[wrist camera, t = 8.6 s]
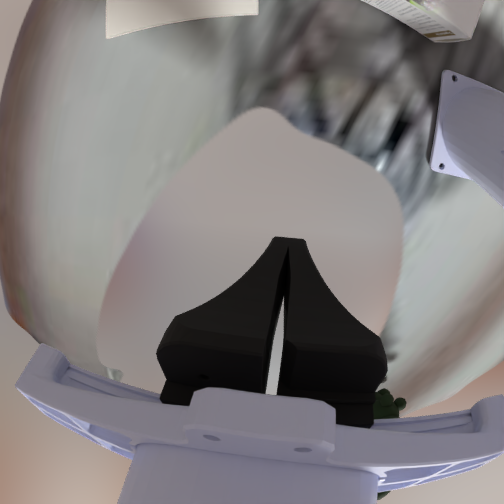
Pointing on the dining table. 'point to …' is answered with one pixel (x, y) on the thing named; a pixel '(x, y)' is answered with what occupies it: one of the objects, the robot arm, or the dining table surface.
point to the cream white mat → (169, 12)
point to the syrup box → (435, 17)
